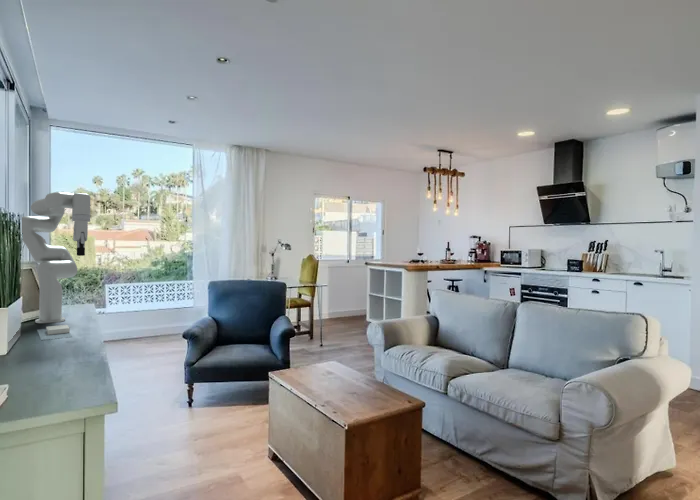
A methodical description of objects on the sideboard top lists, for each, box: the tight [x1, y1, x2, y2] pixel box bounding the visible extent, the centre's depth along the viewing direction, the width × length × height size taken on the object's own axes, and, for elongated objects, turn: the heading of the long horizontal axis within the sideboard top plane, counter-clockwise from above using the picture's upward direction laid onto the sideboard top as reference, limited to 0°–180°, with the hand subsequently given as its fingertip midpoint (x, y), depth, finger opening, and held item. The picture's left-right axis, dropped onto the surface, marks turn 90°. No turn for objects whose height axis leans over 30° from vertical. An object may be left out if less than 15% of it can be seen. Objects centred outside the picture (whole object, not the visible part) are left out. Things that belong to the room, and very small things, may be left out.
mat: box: [36, 328, 73, 341], centre depth 187 cm, size 24×11×1 cm, turn 41°
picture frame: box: [45, 324, 71, 335], centre depth 189 cm, size 2×8×9 cm
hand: (80, 255), depth 203 cm, fingers closed
